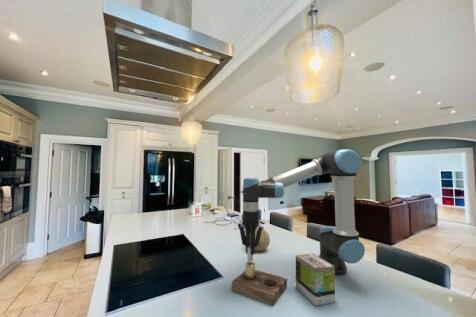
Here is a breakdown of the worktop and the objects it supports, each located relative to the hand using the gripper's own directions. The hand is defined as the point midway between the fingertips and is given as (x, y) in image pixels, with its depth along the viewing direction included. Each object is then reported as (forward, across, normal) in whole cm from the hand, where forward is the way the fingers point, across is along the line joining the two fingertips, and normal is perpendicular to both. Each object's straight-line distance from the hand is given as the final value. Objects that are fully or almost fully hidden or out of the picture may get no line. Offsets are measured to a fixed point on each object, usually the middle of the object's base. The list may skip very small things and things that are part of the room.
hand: (250, 261), depth 101 cm
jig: (+11, +5, 0) cm, 12 cm away
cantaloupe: (+11, -16, +43) cm, 47 cm away
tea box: (+12, +27, +9) cm, 31 cm away
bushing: (+11, 0, 0) cm, 11 cm away
